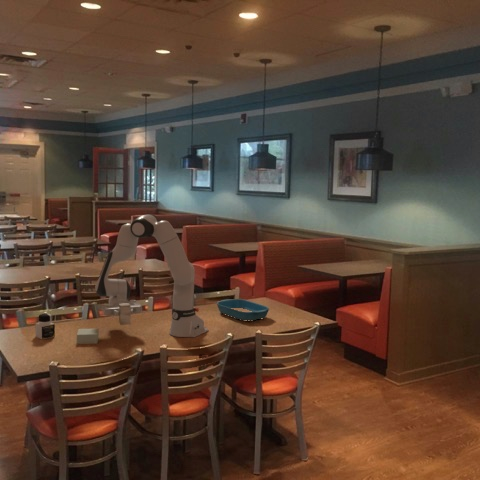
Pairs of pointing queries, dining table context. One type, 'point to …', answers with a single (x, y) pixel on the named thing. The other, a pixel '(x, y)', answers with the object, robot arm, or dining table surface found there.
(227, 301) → the casserole dish
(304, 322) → the dining table surface
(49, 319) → the medicine bottle
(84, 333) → the riser block
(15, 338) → the dining table surface
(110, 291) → the robot arm
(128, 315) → the ash block
